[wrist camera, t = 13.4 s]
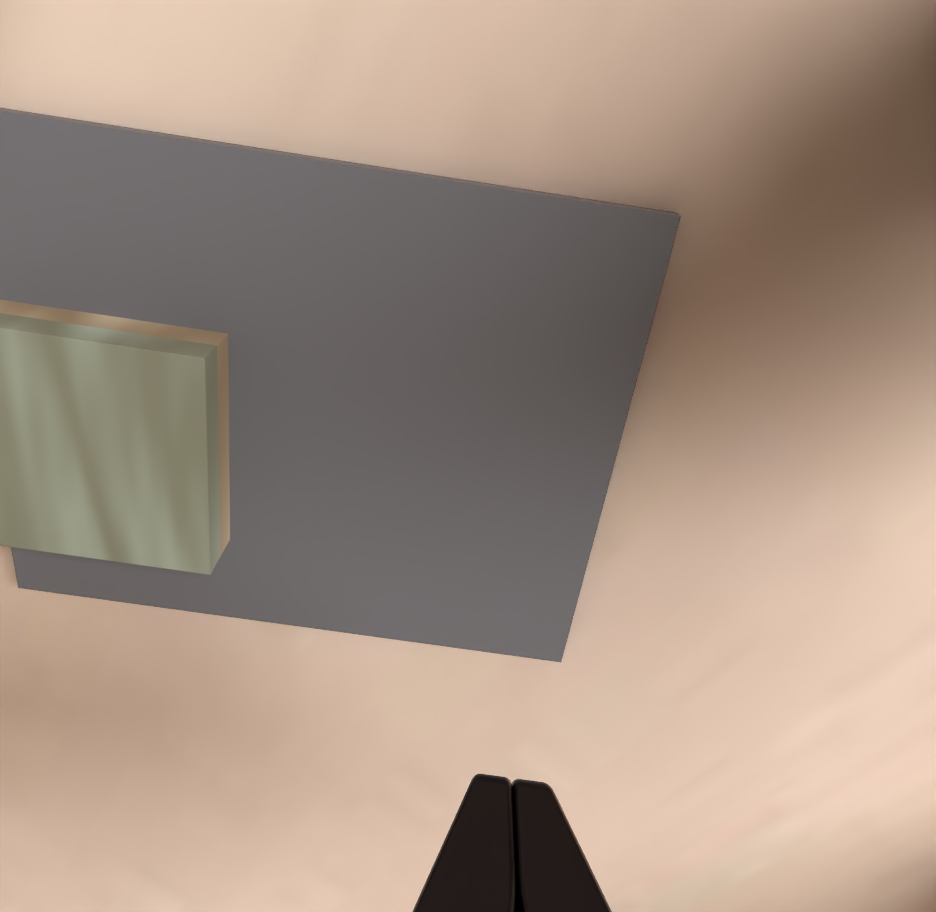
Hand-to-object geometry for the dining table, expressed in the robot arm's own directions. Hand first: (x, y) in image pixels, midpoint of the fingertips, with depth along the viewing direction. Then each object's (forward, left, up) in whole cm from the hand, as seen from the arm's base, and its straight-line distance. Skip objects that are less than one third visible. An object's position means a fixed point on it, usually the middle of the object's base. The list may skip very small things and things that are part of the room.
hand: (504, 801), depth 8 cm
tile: (+7, +3, -11) cm, 13 cm away
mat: (+5, +2, -12) cm, 13 cm away
